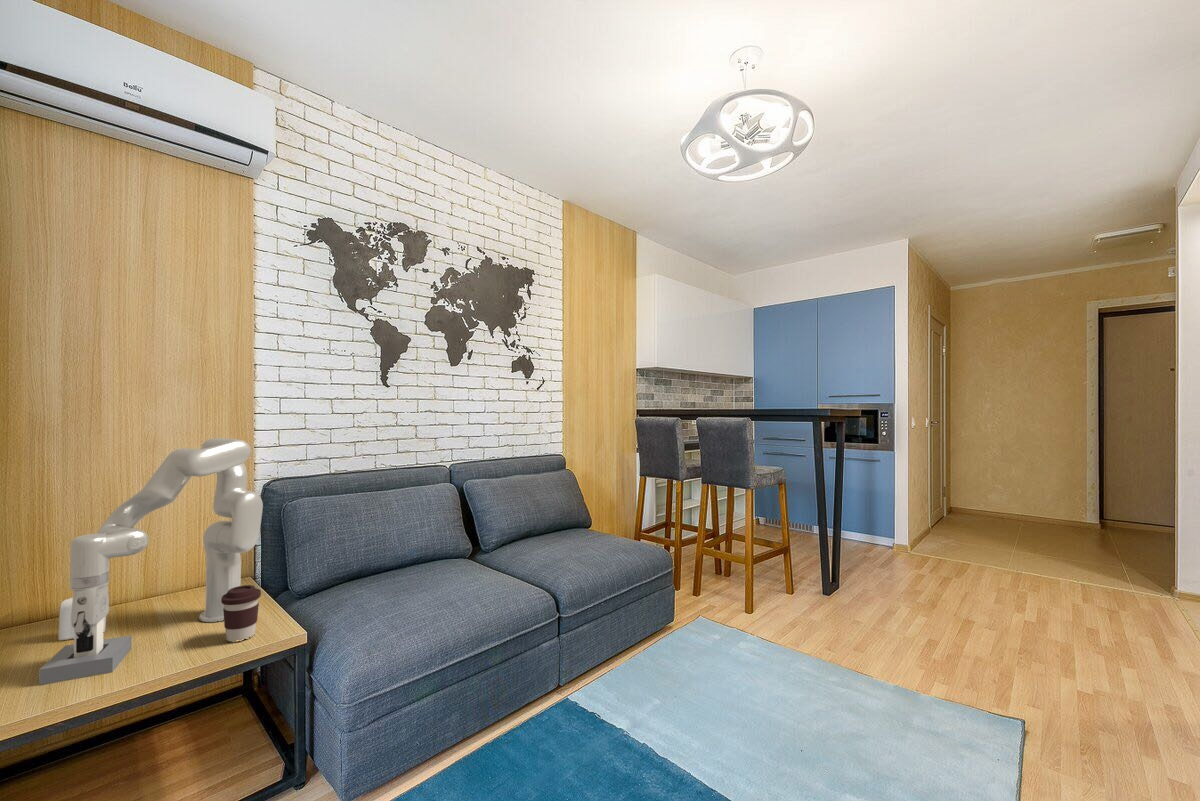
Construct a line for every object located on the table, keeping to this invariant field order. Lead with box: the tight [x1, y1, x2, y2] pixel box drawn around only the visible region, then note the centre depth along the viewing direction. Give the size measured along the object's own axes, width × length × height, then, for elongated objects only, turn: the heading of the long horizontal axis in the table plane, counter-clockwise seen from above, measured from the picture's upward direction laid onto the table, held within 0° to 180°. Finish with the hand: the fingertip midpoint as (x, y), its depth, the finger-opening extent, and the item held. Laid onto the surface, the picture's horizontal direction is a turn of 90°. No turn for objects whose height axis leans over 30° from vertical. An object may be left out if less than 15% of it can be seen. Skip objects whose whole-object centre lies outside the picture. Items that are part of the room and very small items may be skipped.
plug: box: [73, 618, 104, 658], centre depth 138 cm, size 4×4×12 cm
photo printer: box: [58, 596, 107, 641], centre depth 155 cm, size 10×4×12 cm, turn 123°
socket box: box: [38, 635, 133, 686], centre depth 138 cm, size 14×14×4 cm
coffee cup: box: [221, 584, 262, 642], centre depth 155 cm, size 10×10×15 cm
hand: (89, 646), depth 138 cm, fingers closed on plug, 4 cm apart
